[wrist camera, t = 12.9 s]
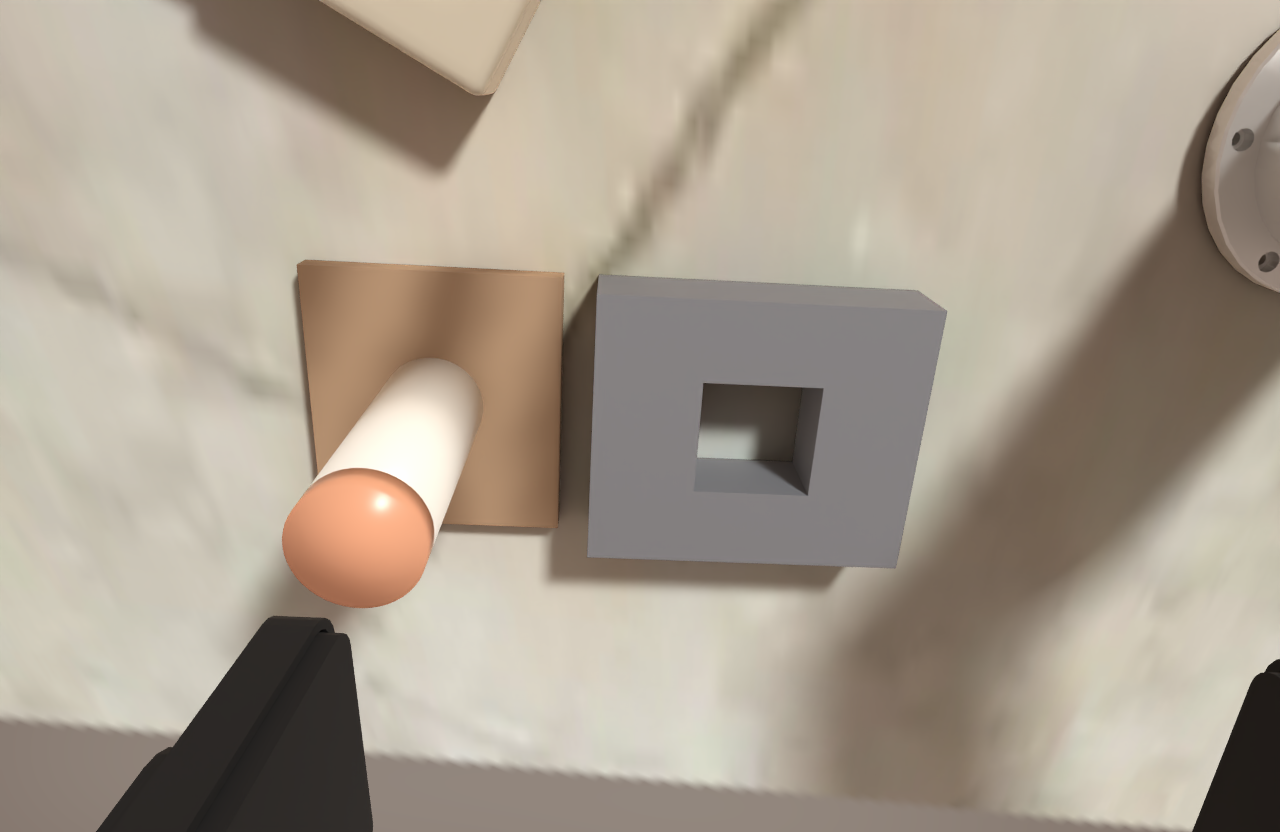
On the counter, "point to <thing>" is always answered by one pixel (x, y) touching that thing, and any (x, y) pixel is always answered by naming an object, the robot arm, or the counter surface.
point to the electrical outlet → (449, 34)
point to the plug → (386, 488)
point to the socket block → (767, 356)
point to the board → (464, 335)
